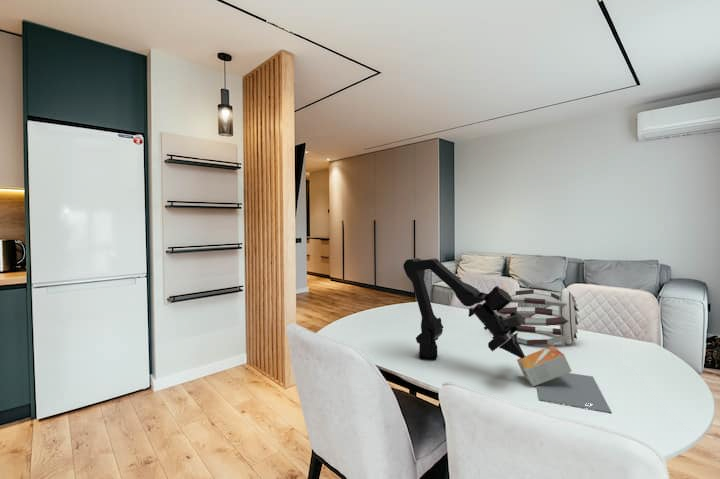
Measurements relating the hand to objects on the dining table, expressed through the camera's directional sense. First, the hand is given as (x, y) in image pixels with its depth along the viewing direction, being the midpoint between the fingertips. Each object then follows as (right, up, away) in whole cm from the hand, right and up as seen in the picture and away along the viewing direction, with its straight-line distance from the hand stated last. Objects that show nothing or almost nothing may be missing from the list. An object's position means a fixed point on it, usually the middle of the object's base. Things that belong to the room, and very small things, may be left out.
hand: (523, 357), depth 114 cm
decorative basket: (+25, -6, +43) cm, 50 cm away
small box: (+1, -5, +1) cm, 6 cm away
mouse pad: (+12, -8, -4) cm, 15 cm away
